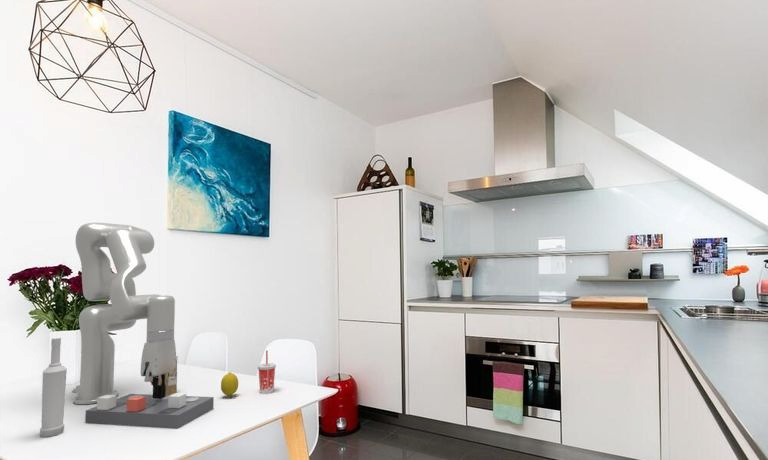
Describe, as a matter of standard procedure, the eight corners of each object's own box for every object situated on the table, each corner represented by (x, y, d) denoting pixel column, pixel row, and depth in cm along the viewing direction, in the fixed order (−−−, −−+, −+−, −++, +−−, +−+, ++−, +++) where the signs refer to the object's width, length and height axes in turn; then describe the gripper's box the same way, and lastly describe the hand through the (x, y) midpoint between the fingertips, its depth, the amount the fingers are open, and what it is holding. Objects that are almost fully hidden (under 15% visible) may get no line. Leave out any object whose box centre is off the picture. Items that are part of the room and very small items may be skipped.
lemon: (232, 399, 138) (232, 374, 138) (217, 399, 139) (217, 374, 139) (241, 394, 143) (241, 370, 144) (226, 394, 144) (226, 370, 145)
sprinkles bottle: (175, 395, 144) (176, 355, 145) (160, 396, 143) (161, 356, 144) (178, 391, 148) (179, 353, 149) (164, 393, 147) (165, 354, 148)
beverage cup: (274, 388, 150) (274, 348, 151) (276, 392, 144) (276, 351, 145) (257, 390, 147) (257, 349, 149) (258, 395, 142) (258, 353, 143)
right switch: (168, 407, 119) (168, 396, 120) (175, 404, 122) (175, 393, 122) (178, 408, 119) (179, 396, 119) (185, 404, 121) (186, 393, 122)
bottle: (48, 430, 114) (52, 337, 116) (68, 429, 115) (72, 336, 117) (34, 438, 109) (39, 340, 111) (55, 437, 109) (59, 339, 112)
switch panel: (85, 423, 119) (85, 409, 120) (130, 404, 135) (130, 392, 135) (177, 428, 113) (178, 413, 114) (213, 408, 129) (213, 396, 129)
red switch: (126, 411, 117) (126, 399, 118) (134, 407, 120) (135, 396, 120) (137, 411, 117) (137, 399, 117) (145, 408, 119) (145, 396, 120)
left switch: (96, 409, 119) (97, 397, 120) (105, 406, 122) (106, 394, 123) (107, 410, 119) (107, 398, 119) (116, 406, 122) (116, 395, 122)
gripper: (167, 332, 137) (165, 390, 135) (130, 340, 122) (128, 405, 121) (187, 332, 135) (186, 391, 134) (152, 340, 121) (151, 406, 119)
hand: (158, 397), depth 127 cm, fingers closed
